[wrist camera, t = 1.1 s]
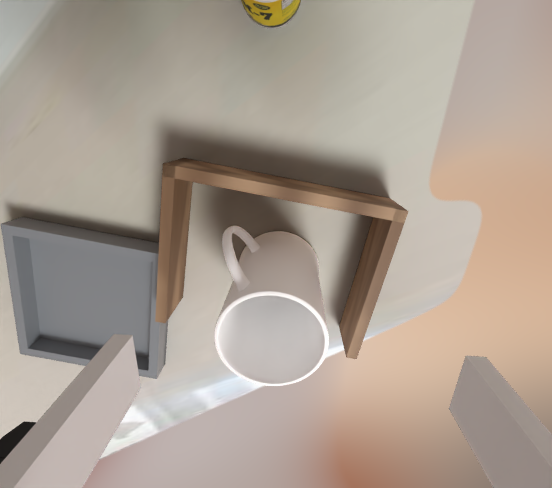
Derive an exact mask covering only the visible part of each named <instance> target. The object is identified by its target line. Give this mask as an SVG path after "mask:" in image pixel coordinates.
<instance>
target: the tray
mask: <svg viewBox="0 0 552 488" xmlns="http://www.w3.org/2000/svg"><path fill="white" fill-rule="evenodd" d="M1 229H2V235H3V242H4V249H5V255H6V262H7V269H8V276H9V282H10V289H11V296H12V302H13V309H14V316H15V322H16V329H17V336H18V343H19V349H20V354H24V355H29V356H35V357H40V358H45V359H51V360H56V361H62V362H67V363H73V364H78V365H83V366H86V365H87V364H88V363H89V362H90V361H91V360H92V358H93V357H94V356H95V355H96V354H97V353H98V352H99V350H100V349H101V348H102V347H103V346H104V345H105V344H106V342H107V341H108V340H109V339H110V338H111V337H112V336H113V334H121V335H133V341H134V348H135V354H136V360H137V366H138V372H139V376H143V377H149V378H154V379H157V377H158V376H159V374H160V372H161V370H162V368H163V366H164V365H165V358H166V343H167V328H168V320H167V322H166V323H160V322H155V316H156V295H157V275H158V255H159V243H156V242H151V241H145V240H140V239H135V238H130V237H124V236H119V235H114V234H109V233H103V232H98V231H93V230H88V229H82V228H77V227H72V226H67V225H61V224H56V223H51V222H46V221H41V220H35V219H30V218H25V217H21V218H18V219H15V220H11V221H8V222H5V223H2V224H1Z"/></svg>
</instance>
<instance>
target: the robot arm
mask: <svg viewBox="0 0 552 488" xmlns="http://www.w3.org/2000/svg"><path fill="white" fill-rule="evenodd" d="M140 389H141V385H140V379H139V372H138V366H137V360H136V354H135V348H134V341H133V335H121V334H113V336H112V337H111V338H110V339H109V340H108V341H107V342H106V344H105V345H104V346H103V347H102V348H101V349H100V350H99V352H98V353H97V354H96V355H95V356H94V357H93V358H92V360H91V361H90V362H89V363H88V364H87V365H86V366H85V368H84V369H83V370H82V371H81V372H80V373H79V374H78V376H77V377H76V378H75V379H74V380H73V381H72V383H71V384H70V385H69V386H68V387H67V388H66V389H65V391H64V392H63V393H62V394H61V395H60V396H59V397H58V399H57V400H56V401H55V402H54V403H53V404H52V405H51V407H50V408H49V409H48V410H47V411H46V412H45V413H44V415H43V416H42V417H41V418H40V419H39V420H38V421H37V423H36V422H23V423H21V424H20V425H19V426H17V427H16V428H14V429H13V430H12V431H10V432H9V433H8V434H6V435H5V436H3V437H2V438H1V439H0V488H82V487H83V486H84V484H85V482H86V481H87V479H88V477H89V476H90V474H91V472H92V470H93V469H94V467H95V465H96V464H97V462H98V460H99V458H100V457H101V455H102V453H103V452H104V450H105V448H106V447H107V445H108V443H109V441H110V440H111V438H112V436H113V435H114V433H115V431H116V430H117V428H118V426H119V424H120V423H121V421H122V419H123V418H124V416H125V414H126V412H127V411H128V409H129V407H130V406H131V404H132V402H133V401H134V399H135V397H136V395H137V394H138V392H139V390H140ZM449 410H450V411H451V413H452V415H453V417H454V419H455V420H456V422H457V424H458V426H459V428H460V429H461V431H462V433H463V435H464V436H465V438H466V440H467V442H468V443H469V445H470V447H471V449H472V451H473V452H474V454H475V456H476V458H477V460H478V461H479V463H480V465H481V467H482V469H483V470H484V472H485V474H486V476H487V478H488V479H489V481H490V483H491V485H492V486H493V488H552V434H551V433H550V432H549V430H548V429H547V428H546V427H545V426H544V425H543V423H542V422H541V421H540V420H539V419H538V418H537V416H536V415H535V414H534V413H533V412H532V411H531V409H530V408H529V407H528V406H527V405H526V404H525V402H524V401H523V400H522V399H521V398H520V396H519V395H518V394H517V393H516V392H515V390H514V389H513V388H512V387H511V386H510V385H509V384H508V382H507V381H506V380H505V379H504V378H503V376H502V375H501V374H500V373H499V372H498V371H497V369H496V368H495V367H494V366H493V365H492V363H491V362H490V361H489V360H488V359H487V358H486V357H479V356H465V360H464V363H463V366H462V369H461V372H460V376H459V379H458V382H457V385H456V388H455V391H454V395H453V397H452V401H451V404H450V407H449Z"/></svg>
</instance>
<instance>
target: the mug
mask: <svg viewBox="0 0 552 488" xmlns="http://www.w3.org/2000/svg"><path fill="white" fill-rule="evenodd" d="M232 233H234V234H236V235H237V236H239V237H240V238H241V239H242V240H243V241H244V242H245V243H246V245H247V246H246V247H245V248H244V250H243V252H242V254H241V256H240V259H239V263H238V260H237V258H236V255H235V252H234V248H233V243H232ZM222 248H223V253H224V257H225V261H226V264H227V266H228V269H229V271H230V274H231V276H232V278H233V283H232V285H231V288H230V290H229V293H228V295H227V298H226V300H225V303H224V305H223V308H222V310H221V313H220V315H219V318H218V320H217V323H216V327H215V333H214V339H215V345H216V349H217V352H218V354H219V356H220V358H221V359H222V361H223V362H224V364H225V365H226V366H227V367H228V368H229V369H230V370H231V371H232V372H234V373H235V374H237V375H238V376H240V377H241V378H243V379H245V380H248V381H250V382H253V383H256V384H261V385H267V386H281V385H288V384H292V383H295V382H298V381H300V380H303V379H304V378H306V377H308V376H309V375H311V374H312V373H313V372H314V371H315V370H317V368H318V367H319V366H320V365H321V363H322V362H323V360H324V358H325V356H326V354H327V351H328V345H329V335H328V328H327V323H326V317H325V311H324V305H323V299H322V294H321V288H320V282H319V262H318V258H317V256H316V253H315V252H314V250H313V248H312V247H311V246H310V245H309V244H308V243H307V242H306V241H305V240H304V239H302V238H301V237H299V236H297V235H295V234H292V233H289V232H283V231H273V232H268V233H264V234H262V235H259V236H257V237H256V238H254V239H253V238H252V236H251V235H250V234H249V233H248V232H247V231H246V230H244V229H243V228H241V227H239V226H231V227H229V228H227V229H226V230H225V231H224V233H223V237H222Z"/></svg>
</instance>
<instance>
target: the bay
mask: <svg viewBox="0 0 552 488" xmlns="http://www.w3.org/2000/svg"><path fill="white" fill-rule="evenodd" d="M193 182H196V183H201V184H206V185H211V186H216V187H221V188H226V189H232V190H237V191H242V192H247V193H252V194H257V195H262V196H268V197H273V198H278V199H283V200H288V201H293V202H298V203H304V204H309V205H314V206H319V207H324V208H329V209H334V210H340V211H345V212H350V213H355V214H360V215H365V216H370V217H373V219H372V223H371V226H370V229H369V232H368V236H367V239H366V242H365V245H364V248H363V252H362V255H361V258H360V261H359V264H358V268H357V271H356V274H355V277H354V280H353V284H352V287H351V290H350V293H349V297H348V300H347V303H346V306H345V309H344V313H343V316H342V319H341V322H340V325H339V328H340V332H341V336H342V341H343V345H344V349H345V353H346V357H347V358H353V359H357V356H358V353H359V350H360V347H361V345H362V342H363V339H364V336H365V333H366V330H367V327H368V325H369V322H370V319H371V316H372V313H373V310H374V308H375V305H376V302H377V299H378V296H379V293H380V291H381V288H382V285H383V282H384V279H385V276H386V274H387V271H388V268H389V265H390V262H391V259H392V257H393V254H394V251H395V248H396V245H397V242H398V239H399V237H400V234H401V231H402V228H403V225H404V222H405V220H406V217H407V214H408V211H407V210H406V209H404V208H403V207H402V206H400V205H399V204H397V203H396V202H394V201H393V200H392V199H390V198H386V197H381V196H376V195H371V194H365V193H360V192H355V191H350V190H345V189H340V188H335V187H330V186H325V185H319V184H314V183H309V182H304V181H299V180H294V179H289V178H284V177H278V176H273V175H268V174H263V173H258V172H253V171H248V170H243V169H238V168H232V167H227V166H222V165H217V164H212V163H207V162H202V161H197V160H192V159H186V158H182V159H178V160H175V161H171V162H167V163H163V173H162V193H161V214H160V234H159V255H158V275H157V295H156V316H155V322H160V323H166V322H167V320H168V319H169V317H170V316H171V314H172V313H173V311H174V310H175V308H176V307H177V305H178V304H179V302H180V301H181V299H182V298H183V289H184V278H185V266H186V254H187V242H188V231H189V219H190V207H191V195H192V183H193Z"/></svg>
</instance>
